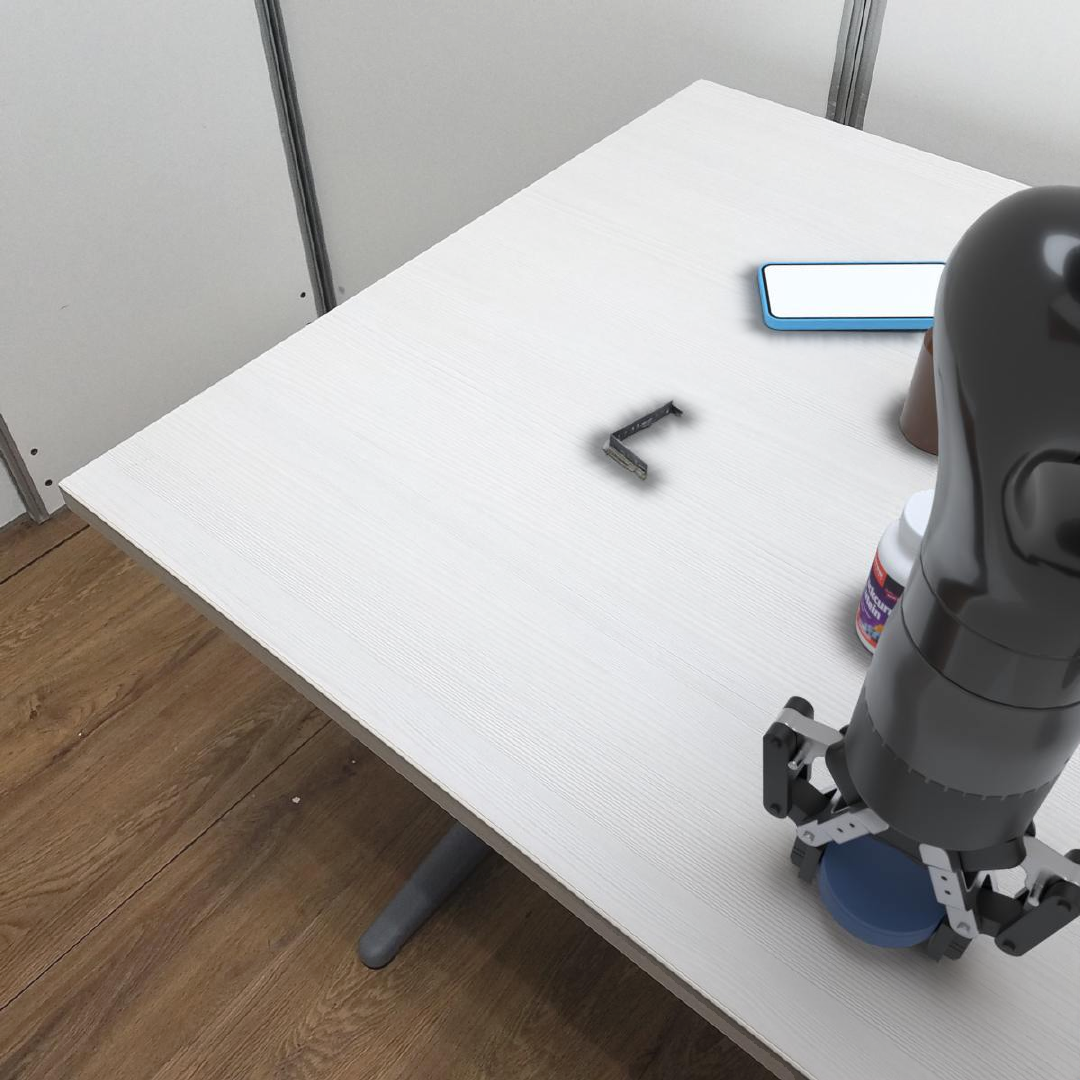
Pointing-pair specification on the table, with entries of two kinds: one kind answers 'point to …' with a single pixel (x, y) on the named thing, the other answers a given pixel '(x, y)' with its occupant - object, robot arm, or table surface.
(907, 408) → the jar
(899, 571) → the pill bottle
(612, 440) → the bent metal strip
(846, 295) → the smartphone
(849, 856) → the jar lid
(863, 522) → the table surface
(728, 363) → the table surface
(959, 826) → the robot arm
